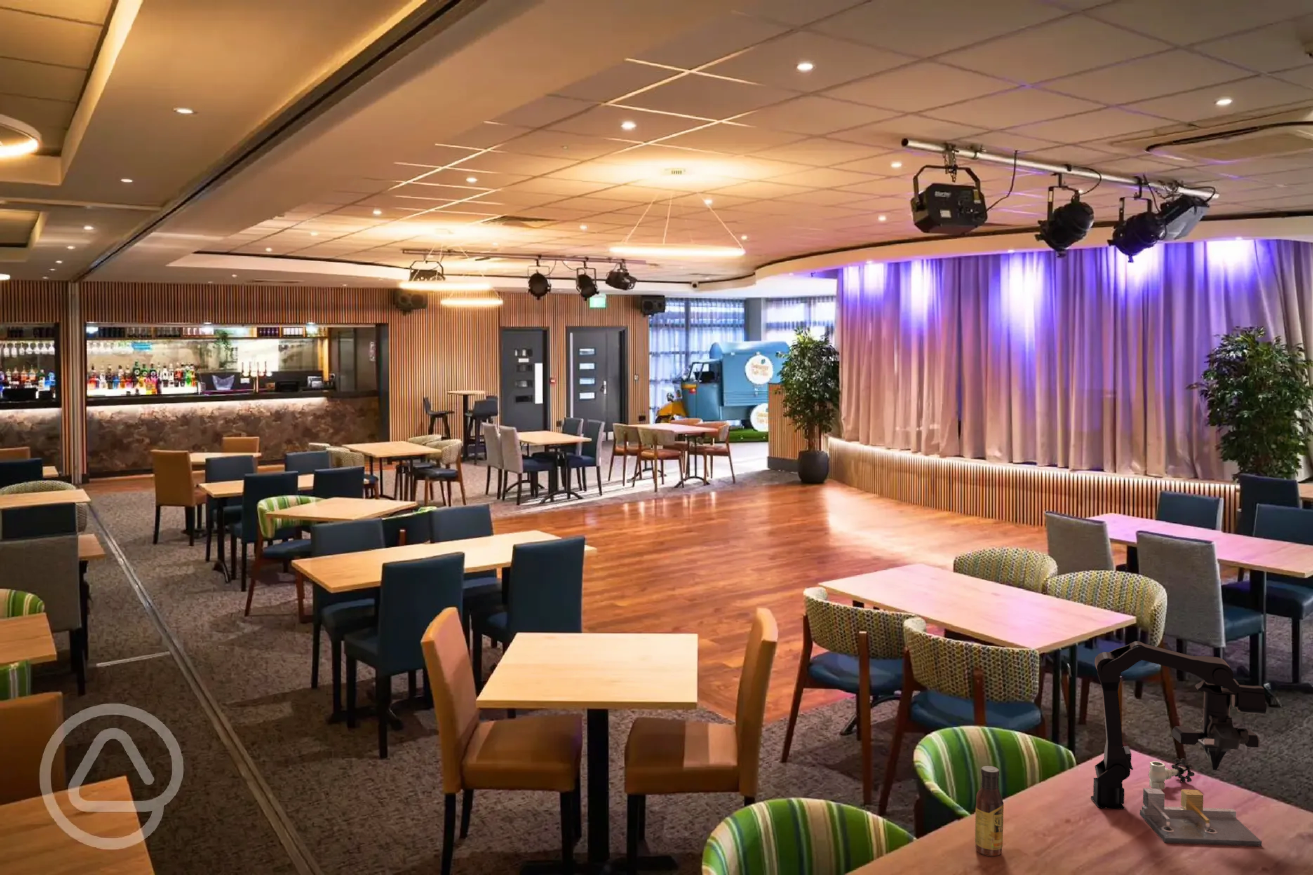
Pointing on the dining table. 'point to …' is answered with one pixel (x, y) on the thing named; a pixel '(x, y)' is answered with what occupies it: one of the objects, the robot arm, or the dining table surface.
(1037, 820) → the dining table surface
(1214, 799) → the dining table surface
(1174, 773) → the valve
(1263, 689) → the robot arm
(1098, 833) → the dining table surface
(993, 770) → the sauce bottle
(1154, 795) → the bolt plate dividers
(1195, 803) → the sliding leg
